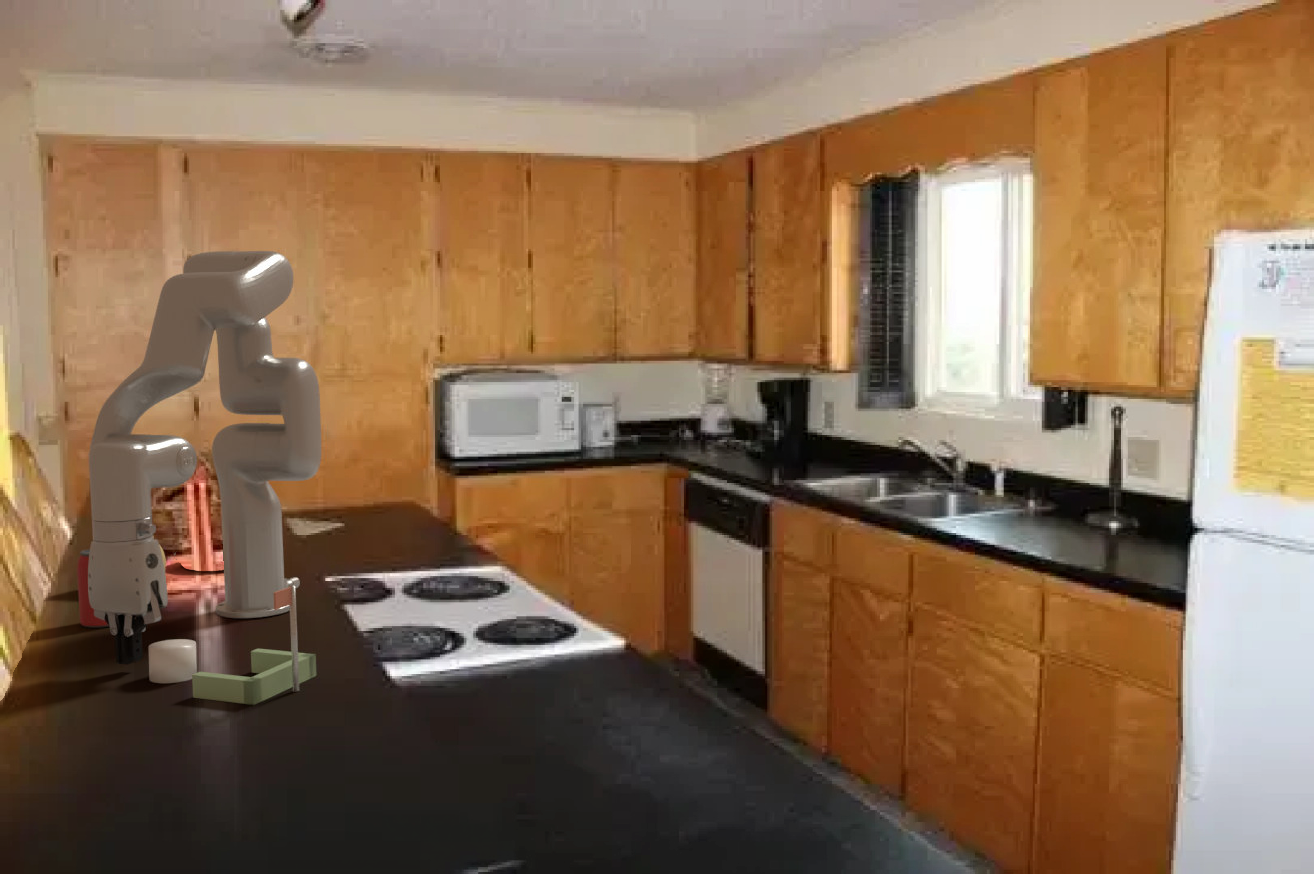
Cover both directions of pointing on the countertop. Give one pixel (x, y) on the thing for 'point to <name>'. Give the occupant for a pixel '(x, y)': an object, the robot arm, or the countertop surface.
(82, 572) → the beer can
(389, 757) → the countertop surface
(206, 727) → the countertop surface
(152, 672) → the white domed cylinder
